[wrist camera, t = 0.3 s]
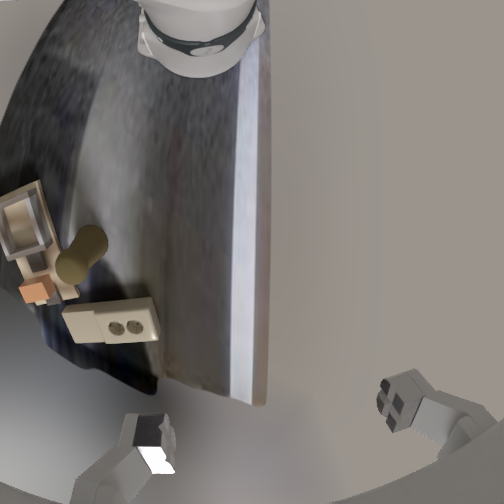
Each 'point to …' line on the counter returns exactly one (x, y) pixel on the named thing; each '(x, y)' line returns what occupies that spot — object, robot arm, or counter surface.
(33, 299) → the block
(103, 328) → the electrical outlet
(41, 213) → the rail panel
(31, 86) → the counter surface
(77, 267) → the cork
